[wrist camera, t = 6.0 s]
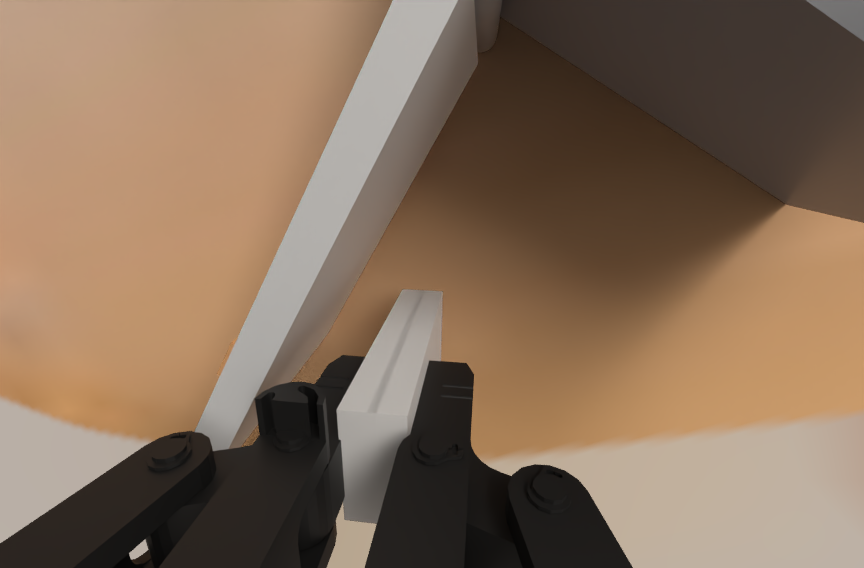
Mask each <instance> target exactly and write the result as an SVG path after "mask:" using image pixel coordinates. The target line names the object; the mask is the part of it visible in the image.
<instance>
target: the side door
mask: <svg viewBox="0 0 864 568" xmlns="http://www.w3.org/2000/svg"><path fill="white" fill-rule="evenodd" d="M501 6H502V0H393V1H392V4H391V6H390V8H389V10H388V12H387V14H386V17H385V19H384V21H383V23H382V25H381V27H380V30H379V32H378V34H377V36H376V38H375V41H374V43H373V45H372V47H371V49H370V51H369V54H368V56H367V58H366V60H365V62H364V64H363V67H362V69H361V71H360V73H359V75H358V77H357V80H356V82H355V84H354V86H353V88H352V90H351V93H350V95H349V97H348V99H347V101H346V104H345V106H344V108H343V110H342V112H341V114H340V117H339V119H338V121H337V123H336V125H335V127H334V130H333V132H332V134H331V136H330V138H329V140H328V143H327V145H326V147H325V149H324V151H323V153H322V156H321V158H320V160H319V162H318V164H317V167H316V169H315V171H314V173H313V175H312V177H311V180H310V182H309V184H308V186H307V188H306V190H305V193H304V195H303V197H302V199H301V201H300V203H299V206H298V208H297V210H296V212H295V214H294V217H293V219H292V221H291V223H290V225H289V227H288V230H287V232H286V234H285V236H284V238H283V240H282V243H281V245H280V247H279V249H278V251H277V253H276V256H275V258H274V260H273V262H272V264H271V266H270V269H269V271H268V273H267V275H266V277H265V280H264V282H263V284H262V286H261V288H260V290H259V293H258V295H257V297H256V299H255V301H254V303H253V306H252V308H251V310H250V312H249V314H248V316H247V319H246V321H245V323H244V325H243V327H242V330H241V332H240V334H239V336H238V338H236V339H235V340H234V341H233V342H232V343H231V344H230V346H229V348H228V351H227V353H226V355H225V357H224V359H223V362H222V364H221V366H220V368H219V370H218V373H217V374H218V375H220V377H219V379H218V382H217V384H216V386H215V388H214V390H213V393H212V395H211V397H210V399H209V401H208V403H207V406H206V408H205V410H204V412H203V414H202V416H201V419H200V421H199V423H198V425H197V427H196V429H195V432H199V433H203V434H204V435H206V436H207V437H209V438H210V441H211V445H212V449H213V451H217V450H225V449H232V448H239V447H241V446H242V444H243V443H244V442H245V441H246V439H247V438H248V437H249V435H250V434H251V433H252V432H253V430H254V429H255V428H256V426H257V425H258V419H257V412H256V406H255V399H254V398H256V397H257V396H258V395H259V394H261V393H262V392H263V391H265V390H267V389H269V388H271V387H274V386H276V385H280V384H284V383H289V382H291V381H292V380H293V378H294V377H295V376H296V374H297V373H298V372H299V371H300V369H301V368H302V367H303V365H304V364H305V363H306V361H307V360H308V359H309V358H310V356H311V355H312V354H313V352H314V351H315V350H316V349H317V347H318V346H319V345H320V343H321V342H322V341H323V339H324V338H325V337H326V336H327V334H328V333H329V331H330V329H331V327H332V326H333V324H334V322H335V320H336V318H337V317H338V315H339V313H340V311H341V309H342V308H343V306H344V304H345V302H346V300H347V299H348V297H349V295H350V293H351V291H352V290H353V288H354V286H355V284H356V282H357V281H358V279H359V277H360V275H361V273H362V272H363V270H364V268H365V266H366V264H367V263H368V261H369V259H370V257H371V255H372V254H373V252H374V250H375V248H376V247H377V245H378V243H379V241H380V239H381V238H382V236H383V234H384V232H385V230H386V229H387V227H388V225H389V223H390V221H391V220H392V218H393V216H394V214H395V212H396V211H397V209H398V207H399V205H400V203H401V202H402V200H403V198H404V196H405V194H406V193H407V191H408V189H409V187H410V185H411V184H412V182H413V180H414V178H415V176H416V175H417V173H418V171H419V169H420V167H421V166H422V164H423V162H424V160H425V158H426V157H427V155H428V153H429V151H430V149H431V148H432V146H433V144H434V142H435V140H436V139H437V137H438V135H439V133H440V131H441V130H442V128H443V126H444V124H445V122H446V121H447V119H448V117H449V115H450V113H451V112H452V110H453V108H454V106H455V104H456V103H457V101H458V99H459V97H460V95H461V94H462V92H463V90H464V88H465V86H466V85H467V83H468V81H469V79H470V77H471V76H472V74H473V72H474V70H475V68H476V67H477V65H478V54H477V52H485V51H488V50H489V49H490V48H492V46H493V45H494V44H495V42H496V39H497V33H498V26H499V20H500V13H501Z"/></svg>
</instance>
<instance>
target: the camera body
mask: <svg viewBox="0 0 864 568" xmlns="http://www.w3.org/2000/svg"><path fill="white" fill-rule="evenodd" d="M500 17H501V18H503V19H505V20H506V21H508V22H509V23H511V24H512V25H514V26H515V27H517V28H518V29H520V30H521V31H523V32H524V33H526V34H527V35H529V36H530V37H532V38H533V39H535V40H537V41H538V42H540V43H541V44H543V45H544V46H546V47H547V48H549V49H550V50H552V51H553V52H555V53H556V54H558V55H559V56H561V57H562V58H564V59H565V60H567V61H569V62H570V63H572V64H573V65H575V66H576V67H578V68H579V69H581V70H582V71H584V72H585V73H587V74H588V75H590V76H591V77H593V78H594V79H596V80H598V81H599V82H601V83H602V84H604V85H605V86H607V87H608V88H610V89H611V90H613V91H614V92H616V93H617V94H619V95H620V96H622V97H623V98H625V99H626V100H628V101H630V102H631V103H633V104H634V105H636V106H637V107H639V108H640V109H642V110H643V111H645V112H646V113H648V114H649V115H651V116H652V117H654V118H655V119H657V120H658V121H660V122H662V123H663V124H665V125H666V126H668V127H669V128H671V129H672V130H674V131H675V132H677V133H678V134H680V135H681V136H683V137H684V138H686V139H687V140H689V141H690V142H692V143H694V144H695V145H697V146H698V147H700V148H701V149H703V150H704V151H706V152H707V153H709V154H710V155H712V156H713V157H715V158H716V159H718V160H719V161H721V162H722V163H724V164H726V165H727V166H729V167H730V168H732V169H733V170H735V171H736V172H738V173H739V174H741V175H742V176H744V177H745V178H747V179H748V180H750V181H751V182H753V183H754V184H756V185H758V186H759V187H761V188H762V189H764V190H765V191H767V192H768V193H770V194H771V195H773V196H774V197H776V198H777V199H779V200H780V201H782V202H783V203H785V204H787V205H790V206H794V207H799V208H803V209H807V210H811V211H816V212H820V213H824V214H829V215H833V216H837V217H841V218H846V219H850V220H854V221H858V222H863V223H864V0H502V6H501V13H500Z"/></svg>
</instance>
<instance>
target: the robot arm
mask: <svg viewBox="0 0 864 568" xmlns="http://www.w3.org/2000/svg"><path fill="white" fill-rule="evenodd" d="M442 301H443V291H427V290H409V289H402V291H401V293H400V295H399V297H398V298H397V300H396V302H395V304H394V306H393V308H392V309H391V311H390V313H389V315H388V317H387V319H386V320H385V322H384V324H383V326H382V328H381V330H380V331H379V333H378V335H377V337H376V339H375V341H374V342H373V344H372V346H371V348H370V350H369V351H368V353H367V355H366V357H360V356H346V355H342V356H341V357H339V358H338V359H336V360H335V361H333V362H332V363H330V364H329V365H328V366H327V367H326V369H325V370H324V372H323V373H322V375H321V378H319V379H318V381H317V382H316V383H315V384H311V383H306V382H289V383H284V384H280V385H276V386H274V387H271V388H269V389H267V390H265V391H263V392H262V393H261V394H259V395H258V396H257V397H256V398H254V399H255V406H256V412H257V419H258V426H259V432H260V436H259V437H258V438H257V439H256V441H255V442H254V443H253V445H250V446H245V447H239V448H232V449H225V450H217V451H213V449H212V445H211V441H210V438H209V437H207V436H206V435H204V434H203V433H199V432H192V431H187V432H179V433H173V434H170V435H167V436H164V437H161V438H159V439H157V440H155V441H153V442H151V443H149V444H148V445H146V446H144V447H143V448H141V449H140V450H138V451H137V452H135V453H134V454H132V455H131V456H129V457H128V458H126V459H125V460H123V461H122V462H120V463H119V464H117V465H116V466H114V467H113V468H111V469H110V470H109V471H107V472H106V473H104V474H103V475H101V476H100V477H98V478H97V479H95V480H94V481H92V482H91V483H90V484H88V485H86V486H85V487H83V488H82V489H81V490H79V491H77V492H76V493H75V494H73V495H71V496H70V497H69V498H67V499H66V500H64V501H63V502H61V503H60V504H58V505H57V506H55V507H54V508H52V509H51V510H49V511H48V512H46V513H45V514H43V515H42V516H40V517H39V518H38V519H36V520H34V521H33V522H31V523H30V524H29V525H27V526H26V527H24V528H23V529H21V530H20V531H18V532H17V533H15V534H14V535H12V536H11V537H9V538H8V539H6V540H5V541H3V542H2V543H0V568H326V567H327V565H328V562H329V559H330V557H331V554H332V551H333V548H334V546H335V542H336V535H337V531H336V518H337V515H338V513H339V510H340V508H341V505H342V503H343V505H344V519H345V520H350V521H358V522H367V523H375V524H377V525H376V529H375V533H374V536H373V540H372V543H371V547H370V551H369V554H368V558H367V561H366V565H365V568H633V567H632V566H631V564H630V562H629V561H628V559H627V557H626V555H625V554H624V552H623V550H622V549H621V547H620V545H619V543H618V542H617V540H616V538H615V537H614V535H613V533H612V531H611V530H610V528H609V526H608V525H607V523H606V521H605V520H604V518H603V516H602V515H601V513H600V511H599V509H598V508H597V506H596V504H595V503H594V501H593V499H592V497H591V496H590V494H589V492H588V491H587V490H586V488H585V487H584V486H583V485H582V484H581V482H579V480H578V479H577V478H575V477H573V476H572V475H570V474H569V473H567V472H566V471H564V470H561V469H558V468H556V467H552V466H550V465H531V466H527V467H523V468H521V469H519V470H518V471H517V472H516V473H514V474H513V475H512V476H509V475H507V474H504V473H501V472H499V471H497V470H494V469H492V468H490V467H488V466H487V465H486V464H484V463H483V462H482V461H481V460H480V459H479V458H478V457H477V456H476V455H475V453H474V451H473V449H472V447H471V440H470V437H471V419H472V401H473V383H474V374H473V372H472V371H471V369H470V368H469V366H468V365H467V363H457V362H444V361H441V341H442ZM144 539H146V542H147V546H148V549H149V550H148V551H147V552H145V553H144V554H143V555H141V556H140V557H138V558H137V559H133V560H131V559H130V556H129V552H131V551H132V550H133V549H134V548H135V547H136V546H137V545H139V544H140V543H141V542H142V541H143V540H144Z"/></svg>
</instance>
